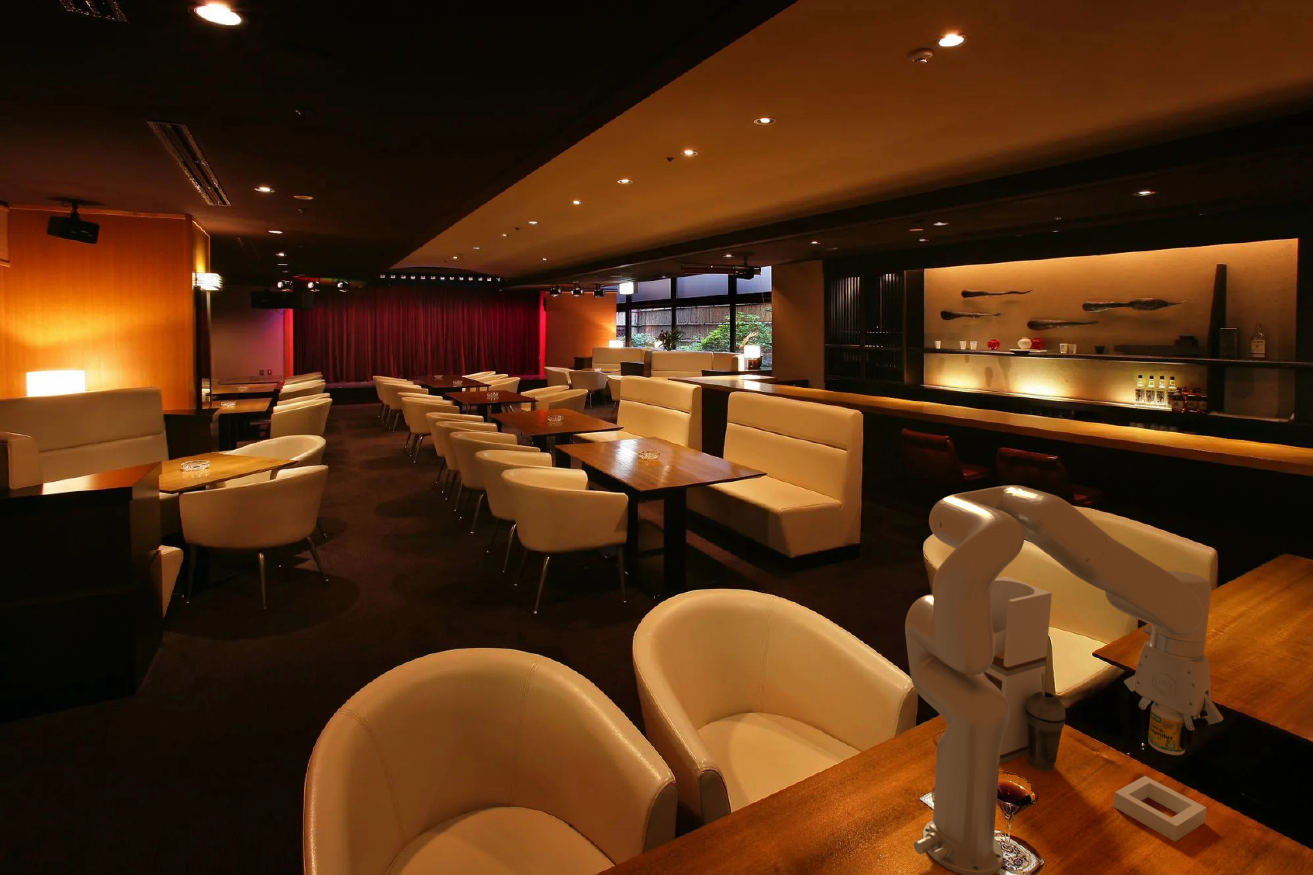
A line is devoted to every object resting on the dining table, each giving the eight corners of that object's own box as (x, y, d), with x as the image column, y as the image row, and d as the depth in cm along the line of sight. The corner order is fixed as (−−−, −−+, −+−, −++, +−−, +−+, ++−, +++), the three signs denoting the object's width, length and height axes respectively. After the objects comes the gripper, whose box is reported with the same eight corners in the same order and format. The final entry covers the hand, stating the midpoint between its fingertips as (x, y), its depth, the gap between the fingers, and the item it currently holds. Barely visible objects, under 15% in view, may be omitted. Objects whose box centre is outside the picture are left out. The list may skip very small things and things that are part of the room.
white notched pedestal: (996, 724, 151) (1006, 576, 146) (1038, 750, 142) (1051, 592, 137) (958, 736, 147) (968, 583, 142) (1000, 763, 137) (1012, 601, 132)
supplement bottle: (1191, 751, 119) (1197, 701, 118) (1173, 759, 117) (1179, 708, 116) (1158, 735, 124) (1163, 686, 123) (1140, 742, 122) (1146, 693, 120)
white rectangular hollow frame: (1174, 841, 116) (1176, 826, 115) (1113, 806, 125) (1115, 791, 124) (1204, 822, 120) (1206, 807, 120) (1143, 789, 129) (1145, 775, 129)
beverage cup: (1069, 776, 133) (1078, 682, 130) (1032, 776, 133) (1040, 682, 131) (1049, 754, 140) (1056, 664, 138) (1014, 753, 141) (1020, 664, 138)
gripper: (1113, 628, 124) (1104, 719, 126) (1225, 668, 108) (1212, 770, 111) (1136, 620, 127) (1127, 709, 130) (1247, 658, 112) (1235, 757, 114)
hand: (1167, 736), depth 120 cm, fingers closed on supplement bottle, 5 cm apart
